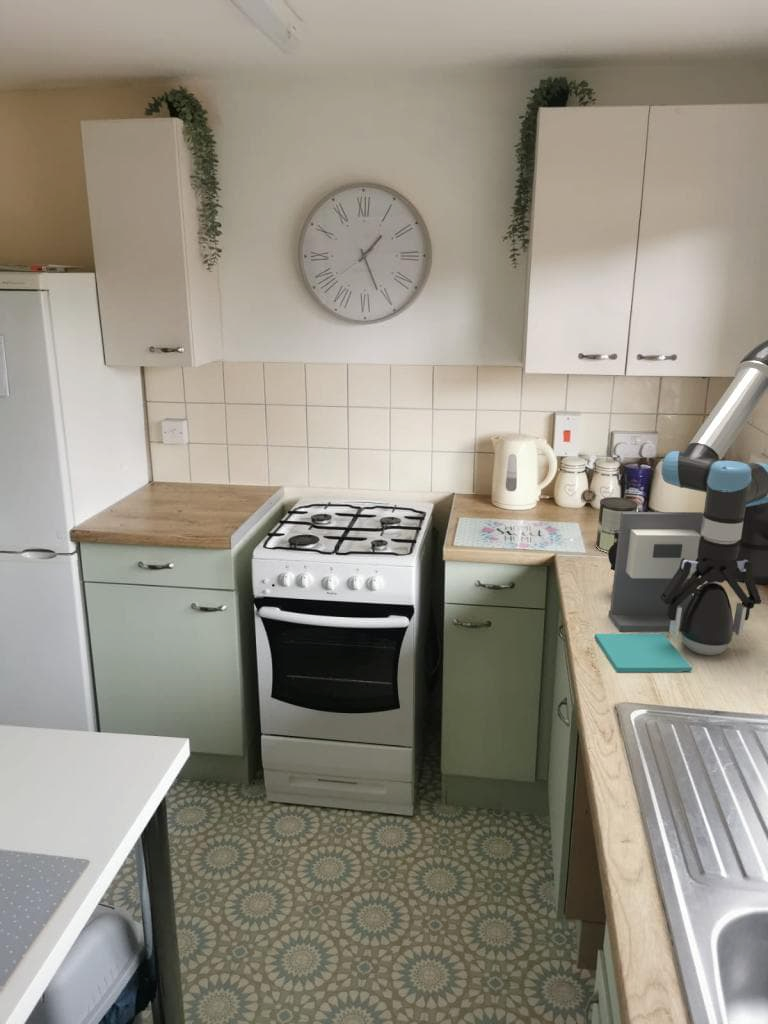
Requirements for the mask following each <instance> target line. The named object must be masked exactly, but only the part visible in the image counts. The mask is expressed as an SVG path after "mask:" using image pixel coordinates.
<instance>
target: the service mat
mask: <svg viewBox="0 0 768 1024" xmlns="http://www.w3.org/2000/svg"><path fill="white" fill-rule="evenodd" d="M594 639H595V640H596V642H597V644H598V645H599V647H600V648H601V650H602V652H603V653H604V654H605V656H606V658H607V660H608V661H609V662H610V664H611V665H612V668H614V670H615V671H616V673H678V672H677V671H691V672H692V669H693V667H692V665H690V663H689V662H688V661H687V660H686V659H685V657H684V656H683V655H682V654H681V653H680V652H679V650H678V649H677V648H676V647H675V646H674V644H673V643H672V642H671V641H670V640H669V639H668V638H667V636H666V635H665V634H664V633H594Z"/></svg>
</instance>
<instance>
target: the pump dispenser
mask: <svg viewBox="0 0 768 1024" xmlns="http://www.w3.org/2000/svg"><path fill="white" fill-rule="evenodd" d="M692 593H693V596H692V598H691V600H690V601H689V603H688V605H687V608H686V610H685V612H684V615H683V618H682V622H681V626H680V634H681V639H682V642H683V643H684V645H685V646H686V647H687V648H688V649H689V650H690V651H692V652H694V653H696V654H699V655H703V656H716V655H718V654H721V653H722V652H724V651H725V650H726V649H727V648H728V647H729V645H730V643H731V642H732V640H733V635H734V632H733V623H734V619H733V611H732V610H733V609H732V605H731V601H730V598H729V596H728V593H727V590H726V589H725V588H724V587H723V586H722V585H721V584H719V582H712V583H708V582H705V583H704V584H703V585H700V586H698V587H697V588H696V589H695V590H694V591H693V592H692Z"/></svg>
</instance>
